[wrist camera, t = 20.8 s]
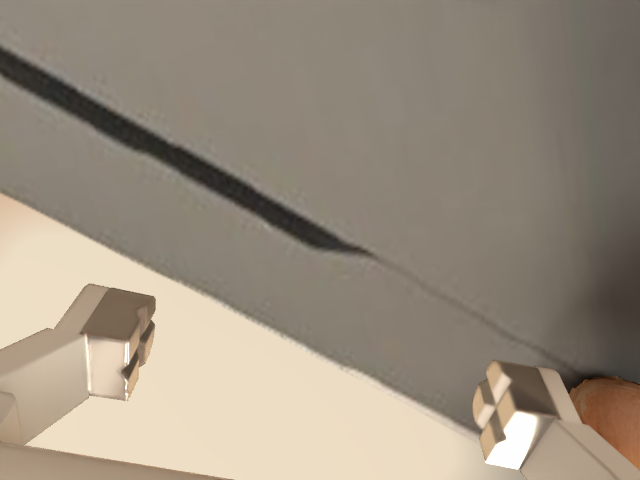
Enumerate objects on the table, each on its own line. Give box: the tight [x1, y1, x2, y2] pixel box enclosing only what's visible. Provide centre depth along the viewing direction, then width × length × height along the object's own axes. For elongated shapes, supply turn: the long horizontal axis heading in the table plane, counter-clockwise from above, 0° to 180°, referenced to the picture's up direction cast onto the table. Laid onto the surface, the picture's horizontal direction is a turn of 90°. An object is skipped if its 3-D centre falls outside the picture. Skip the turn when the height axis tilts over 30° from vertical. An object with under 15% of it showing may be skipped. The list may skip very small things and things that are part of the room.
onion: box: [569, 376, 640, 470], centre depth 46 cm, size 10×9×10 cm
